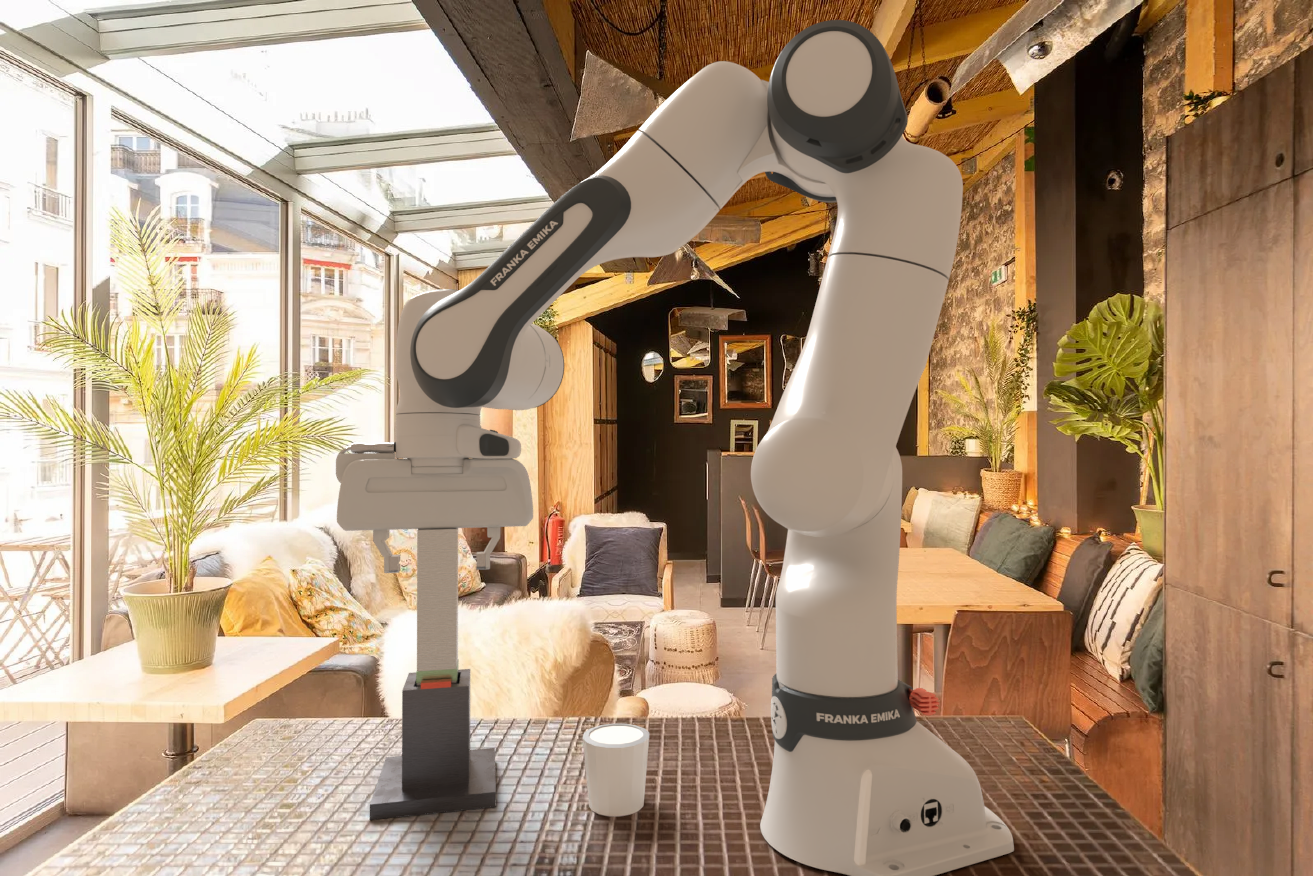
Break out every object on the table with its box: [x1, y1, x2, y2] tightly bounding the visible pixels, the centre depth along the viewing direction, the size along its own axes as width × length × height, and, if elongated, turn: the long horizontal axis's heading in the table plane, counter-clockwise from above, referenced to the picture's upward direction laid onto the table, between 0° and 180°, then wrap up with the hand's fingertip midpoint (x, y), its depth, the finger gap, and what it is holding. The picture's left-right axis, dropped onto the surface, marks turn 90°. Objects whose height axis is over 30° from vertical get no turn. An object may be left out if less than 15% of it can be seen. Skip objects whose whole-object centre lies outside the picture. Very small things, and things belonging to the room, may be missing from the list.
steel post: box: [415, 528, 460, 687], centre depth 81 cm, size 4×4×18 cm
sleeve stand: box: [369, 668, 497, 821], centre depth 80 cm, size 12×12×12 cm
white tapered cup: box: [582, 723, 650, 817], centre depth 77 cm, size 7×7×7 cm
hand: (438, 570), depth 81 cm, fingers open, 8 cm apart
